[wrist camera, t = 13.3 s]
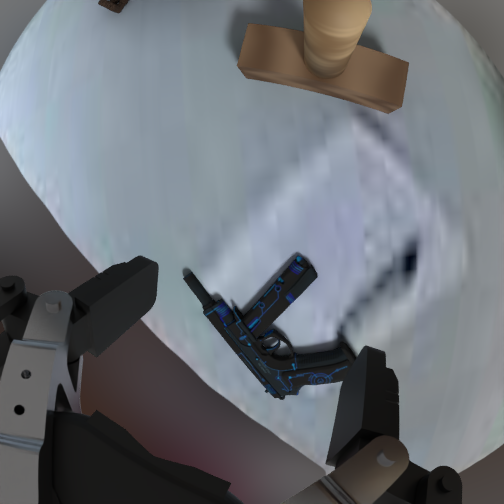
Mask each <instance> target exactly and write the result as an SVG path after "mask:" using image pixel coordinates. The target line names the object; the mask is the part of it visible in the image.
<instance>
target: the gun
mask: <svg viewBox="0 0 504 504" xmlns="http://www.w3.org/2000/svg"><path fill="white" fill-rule="evenodd" d="M296 259H297V262H296ZM296 259H295V260H294V261H293V262H292V263H291V265H290V266H289V267H288V268H287V269H286V270H285V271H284V272H283V274H282V275H281V276H280V277H279V278H278V279H277V280H276V281H275V283H274V284H273V285H272V286H271V287H270V288H269V289H268V290H267V291H266V293H265V294H264V295H263V296H262V297H261V298H260V299H259V300H258V301H257V302H256V304H255V305H254V306H253V307H252V308H251V309H250V310H249V311H248V312H247V313H246V314H245V315H244V316H243V315H242V313H241V312H240V311H239V310H238V309H237V308H236V306H235V307H234V309H233V313H234V314H233V313H232V311H231V310H230V309H229V307H228V306H227V305H226V304H225V302H224V301H223V300H222V299H220V300H218V301H217V302H215V301H214V300H212V299H211V297H210V296H209V295H208V293H207V292H206V291H205V289H204V288H203V287H202V285H201V284H200V283H199V281H198V280H197V279H196V277H195V276H194V275H193V273H192V272H191V273H190V274H189V275H188V276H186V277H184V278H183V279H184V280H185V282H186V283H187V285H188V286H189V287H190V289H191V290H192V291H193V293H194V294H195V295H196V297H197V298H198V299H199V300H200V302H201V303H202V304H203V308H204V311H203V314H204V315H205V316H206V317H207V318H208V319H209V321H210V322H211V323H212V324H213V326H214V327H215V328H216V329H217V331H218V332H219V333H220V334H221V336H222V337H223V338H224V339H225V341H226V342H227V343H228V344H229V346H230V347H231V348H232V349H233V350H234V352H235V353H236V354H237V355H238V356H239V358H240V359H241V360H242V361H243V362H244V364H245V365H246V366H247V367H248V368H249V370H250V371H251V372H252V373H253V374H254V375H255V377H256V378H257V379H258V380H259V381H260V382H261V384H262V385H263V386H264V387H265V388H266V390H265V392H266V393H267V392H269V393H270V394H271V395H272V396H273V397H274V398H279V399H280V400H283V399H285V395H298V393H299V390H300V388H301V387H302V386H304V385H320V384H328V383H335V382H340V381H343V380H344V378H345V376H346V374H347V373H348V371H349V370H350V368H351V366H352V365H353V363H354V362H355V360H356V357H355V355H354V354H353V352H352V351H351V349H350V348H349V347H348V345H347V344H345V343H343V342H340V346H341V347H340V348H338V349H336V350H333V351H327V352H321V353H315V354H307V355H297V354H296V353H294V352H293V348H292V346H291V344H290V342H289V341H288V340H287V339H286V338H285V337H284V336H283V335H282V334H280V333H279V332H277V331H276V330H275V329H273V330H271V331H268V332H267V333H265V334H264V335H263V336H259V335H260V334H261V333H262V332H263V331H265V330H266V329H267V328H268V327H269V326H270V325H271V324H272V323H273V322H274V321H275V320H276V319H277V318H278V317H279V316H280V315H281V314H282V313H283V312H284V311H285V309H286V308H287V307H288V306H289V305H290V304H291V303H292V302H294V301H295V300H296V299H297V298H298V297H299V296H300V295H301V294H302V293H303V292H304V291H305V290H306V289H307V288H308V286H309V285H310V284H311V283H312V282H313V281H314V280H315V279H316V278H317V277H318V276H317V273H315V272H316V271H315V270H313V269H314V268H313V267H310V266H309V264H308V263H307V261H305V260H304V259H303V258H302V257H300V256H297V257H296ZM311 266H312V265H311ZM279 281H280V282H279ZM269 337H275V338H277V339H278V343H277V344H276V345H275V346H273V347H264V346H263V344H262V341H263V340H265V339H267V338H269ZM280 340H281V341H283V342H284V343H286V344H287V345H288V347H289V348H290V350H291V353H290V354H289V355H288V356H278V355H275V354H274V353H272V352H274V351H275V350H277V349H278V348H279V347H280Z"/></svg>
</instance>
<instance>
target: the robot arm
mask: <svg viewBox="0 0 504 504" xmlns="http://www.w3.org/2000/svg"><path fill="white" fill-rule="evenodd" d="M158 269H159V267H158V264H157V262H154V261H152V260H150V259H148V258H145V257H143V256H137V257H135V258H134V259H132V260H131V261H129V262H127V263H126V262H124V263H120V264H116V265H112V266H111V267H109V268H108V269H106V270H104V271H103V273H102V272H101V273H99V274H98V275H96V277H95V278H94V277H93V278H91V279H90V280H89V281H87V282H85V283H83V284H82V285H80V286H79V287H77V288H76V289H74V290H73V291H71V292H70V293H68V294H67V293H65V292H62V291H49V292H46V293H44V294H42V295H40V296H37V295H35V294H32V293H29V292H26V288H25V283H24V281H23V279H22V278H20V277H18V276H6V277H3V278H1V279H0V321H2V323H3V326H4V329H5V331H4V332H2V333H1V334H0V504H244V503H243V502H242V501H241V500H239V499H238V498H237V497H236V496H235V495H233V494H232V493H231V492H229V491H228V489H229V487H230V485H231V483H230V482H227V481H225V480H222V479H220V478H218V477H215V476H213V475H211V474H208V473H206V472H204V471H202V470H200V469H197V468H195V467H192V466H187V465H183V464H179V463H176V462H172V461H168V460H165V459H161V458H158V457H155V456H153V455H152V454H150V453H149V452H148V451H147V450H146V449H145V448H144V447H143V446H142V445H141V444H140V443H139V442H138V441H137V440H135V438H133V437H132V435H131V434H130V433H129V432H128V431H126V429H124V428H123V427H121V426H120V425H118V424H117V423H115V422H113V421H112V420H110V419H109V418H108V417H106V416H105V415H103V414H102V413H100V412H99V411H97V410H96V411H95V412H94V413H93V414H92V416H88V415H84V414H82V413H81V407H80V386H81V374H82V373H81V372H82V363H83V357H82V355H83V354H84V353H85V352H86V351H88V352H90V353H91V354H92V355H94V356H95V357H98V356H99V355H100V354H101V353H102V352H103V351H105V350H106V349H107V347H109V346H110V345H111V344H112V343H113V342H115V341H116V340H117V339H118V338H119V337H120V336H121V335H122V334H123V333H125V332H126V330H128V329H129V328H130V327H131V326H132V325H133V324H135V323H136V322H137V321H138V320H139V319H140V318H141V317H143V316H144V315H145V314H146V313H147V312H148V311H149V310H150V309H151V308H152V307H153V305H154V303H155V300H156V296H157V282H158ZM398 393H399V386H398V380H397V377H396V375H395V373H394V371H393V369H390V368H386V354H385V352H384V351H381V350H378V349H375V348H372V347H369V346H364V347H363V349H362V350H361V352H360V353H359V355H358V357H357V358H356V360H355V362H354V363H353V365H352V366H351V368H350V370H349V371H348V373H347V374H346V376H345V378H344V380H343V383H342V386H341V389H340V395H339V401H338V406H337V412H336V417H335V422H334V427H333V432H332V437H331V442H330V446H329V451H328V455H327V460H326V465H330V466H334V467H335V470H334V471H332V472H331V473H330V474H328V475H327V476H324V477H322V478H321V479H319V480H318V481H316V482H314V483H313V484H311V485H310V486H308V487H307V488H305V489H304V490H302V491H300V492H299V493H297V494H296V495H294V496H292V497H291V498H289V499H287V500H286V501H284V502H282V503H280V504H462V482H461V478H460V476H459V475H458V473H457V472H456V471H455V470H454V469H452V468H450V467H448V466H439V467H437V468H435V469H434V470H432V471H431V472H429V471H427V470H426V469H424V468H422V467H420V466H418V465H416V464H414V463H412V462H411V461H410V460H409V453H408V451H407V448H406V447H405V445H404V444H403V443H402V442H401V441H400V440H399V405H398V404H399V395H398Z"/></svg>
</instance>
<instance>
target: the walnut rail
mask: <svg viewBox="0 0 504 504" xmlns="http://www.w3.org/2000/svg"><path fill="white" fill-rule="evenodd" d="M237 66H238V68H239V69H240V70H241V72H242V73H243V74H244V76H245V77H246V78H248V79H254V80H260V81H266V82H271V83H277V84H282V85H287V86H291V87H296V88H300V89H305V90H309V91H313V92H317V93H321V94H325V95H329V96H333V97H336V98H340V99H343V100H347V101H350V102H354V103H357V104H360V105H363V106H367V107H370V108H373V109H376V110H379V111H382V112H384V113H387V114H389V113H391V112H393V111H395V110H397V109H399V108H401V107H402V103H403V97H404V92H405V86H406V80H407V73H408V66H409V62H406V61H403V60H401V59H398V58H396V57H393V56H390V55H387V54H384V53H381V52H378V51H375V50H372V49H369V48H366V47H363V46H360V45H356V47H355V49H354V51H353V53H352V55H351V58H350V60H349V62H348V64H347V66H346V68H345V70H344V72H343V73H342V74H341V75H339V76H338V77H336V78H332V79H323V78H319V77H317V76H315V75H313V74H312V73H311V72H310V71H309V70H308V69H307V67H306V65H305V62H304V32H303V31H298V30H292V29H287V28H281V27H274V26H267V25H260V24H251V23H248V26H247V30H246V34H245V37H244V41H243V45H242V48H241V52H240V56H239V60H238V64H237Z"/></svg>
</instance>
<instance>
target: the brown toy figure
mask: <svg viewBox="0 0 504 504" xmlns="http://www.w3.org/2000/svg"><path fill="white" fill-rule="evenodd" d="M118 1H120V2H119V3H118V4H117V2H118ZM128 1H129V0H110V1H108V0H100V1H99V2H98V4H99V5H101V6H103V7H105V8H107V9H109V10H111V11H113V12H116V13H120V12H121V11H122V9H123V7H124V6H125V4H127V3H128Z"/></svg>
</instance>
